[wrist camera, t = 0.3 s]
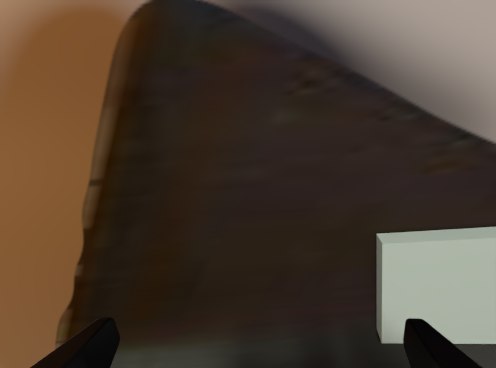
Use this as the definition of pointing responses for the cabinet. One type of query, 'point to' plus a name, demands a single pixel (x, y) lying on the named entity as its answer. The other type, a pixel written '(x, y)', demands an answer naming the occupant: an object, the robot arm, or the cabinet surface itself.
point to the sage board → (438, 283)
